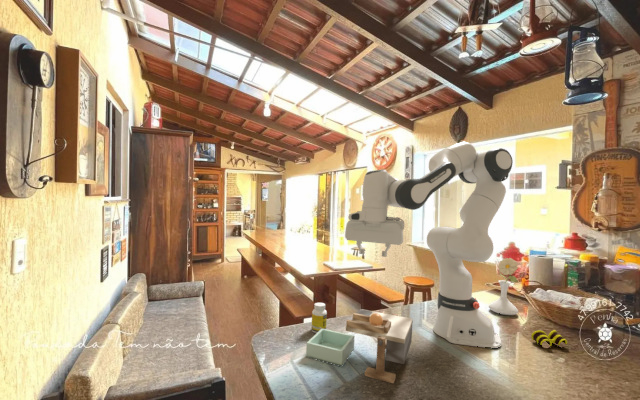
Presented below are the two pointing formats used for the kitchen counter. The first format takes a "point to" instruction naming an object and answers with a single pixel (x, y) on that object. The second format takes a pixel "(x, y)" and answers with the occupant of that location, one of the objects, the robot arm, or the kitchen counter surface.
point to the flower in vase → (505, 288)
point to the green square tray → (330, 346)
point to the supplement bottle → (319, 317)
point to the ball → (376, 319)
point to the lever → (385, 332)
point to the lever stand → (381, 363)
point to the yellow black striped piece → (552, 337)
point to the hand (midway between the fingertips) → (372, 255)
